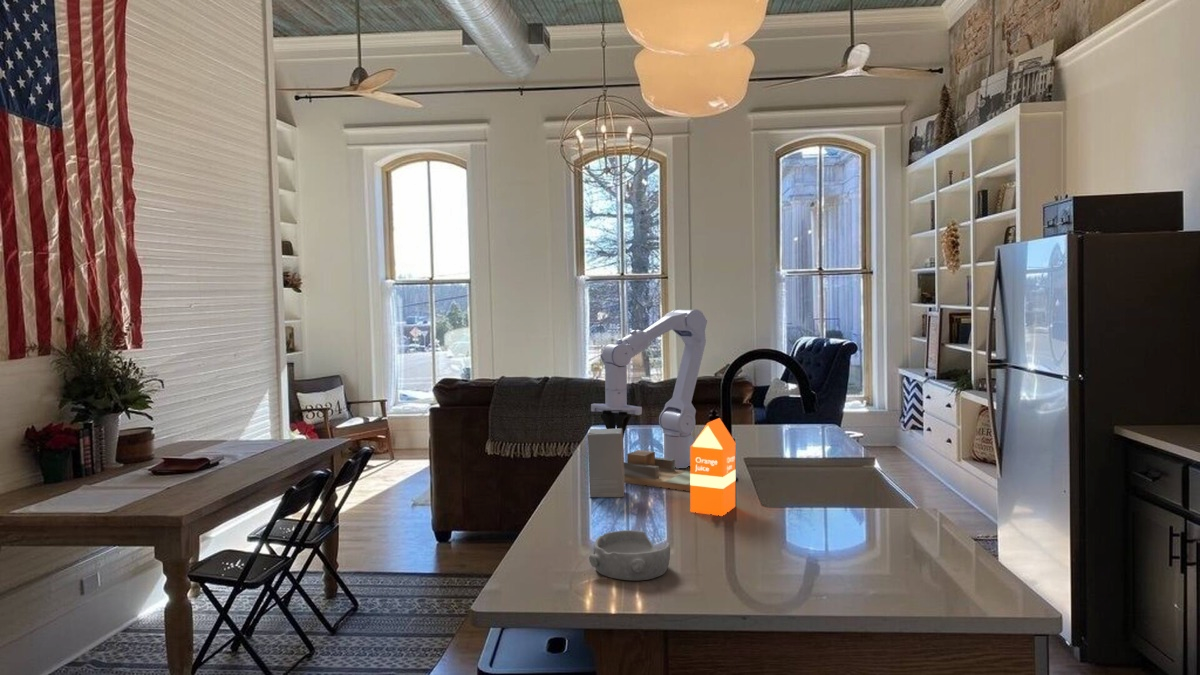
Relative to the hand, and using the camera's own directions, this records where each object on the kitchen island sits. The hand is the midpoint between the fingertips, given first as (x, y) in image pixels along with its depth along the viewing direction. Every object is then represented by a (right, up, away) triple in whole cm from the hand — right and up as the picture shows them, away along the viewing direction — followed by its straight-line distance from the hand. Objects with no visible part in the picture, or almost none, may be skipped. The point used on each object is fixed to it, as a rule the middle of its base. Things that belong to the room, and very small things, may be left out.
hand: (616, 439), depth 210 cm
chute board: (+11, -10, -6) cm, 16 cm away
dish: (+1, -14, -72) cm, 73 cm away
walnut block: (+6, -8, -3) cm, 11 cm away
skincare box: (-3, -11, -21) cm, 24 cm away
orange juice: (+21, -11, -34) cm, 41 cm away
